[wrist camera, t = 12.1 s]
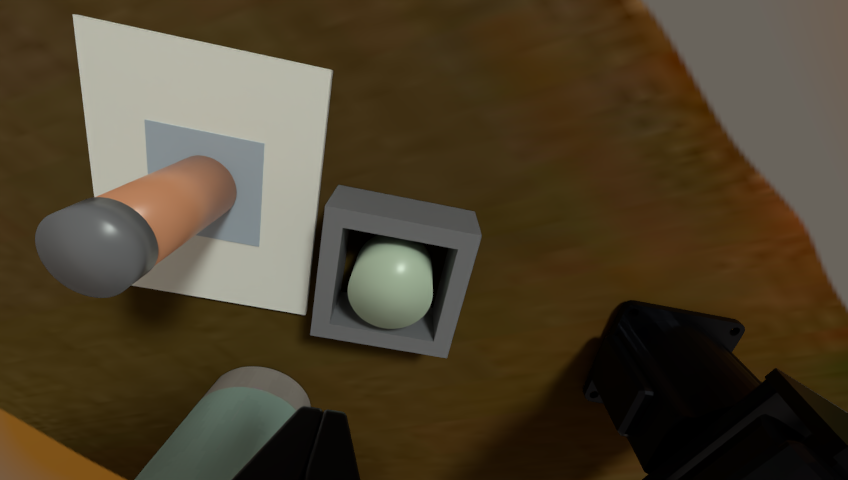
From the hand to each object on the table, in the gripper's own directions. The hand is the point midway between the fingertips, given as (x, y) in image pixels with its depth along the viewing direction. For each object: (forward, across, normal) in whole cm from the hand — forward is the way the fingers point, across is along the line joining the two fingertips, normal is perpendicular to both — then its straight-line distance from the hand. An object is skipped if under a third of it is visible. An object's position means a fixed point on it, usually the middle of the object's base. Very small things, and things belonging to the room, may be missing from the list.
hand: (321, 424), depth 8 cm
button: (+12, -1, +3) cm, 13 cm away
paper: (+13, +8, +1) cm, 15 cm away
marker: (+13, +8, +1) cm, 15 cm away
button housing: (+13, -1, +3) cm, 13 cm away
